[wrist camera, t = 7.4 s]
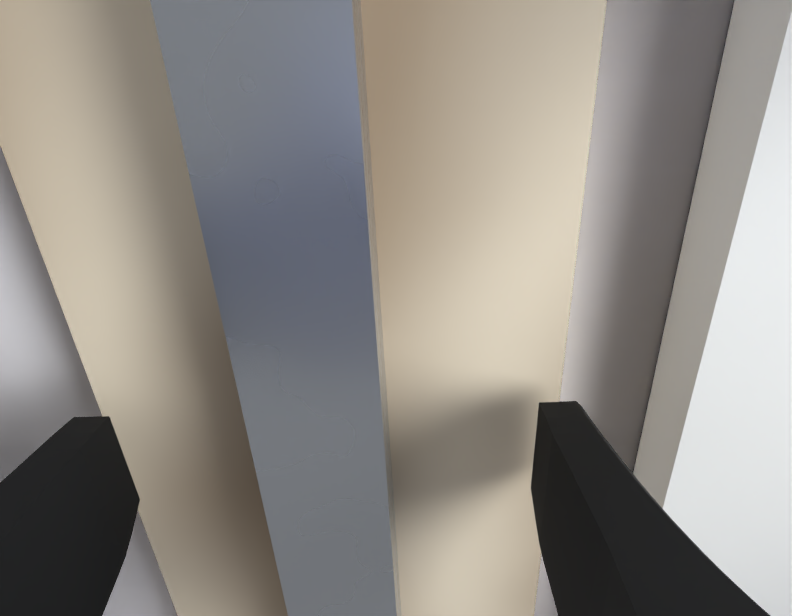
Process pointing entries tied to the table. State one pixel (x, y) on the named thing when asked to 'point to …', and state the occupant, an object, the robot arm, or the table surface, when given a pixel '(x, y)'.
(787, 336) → the bracket stand
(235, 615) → the beech board
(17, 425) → the table surface
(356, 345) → the steel rail
